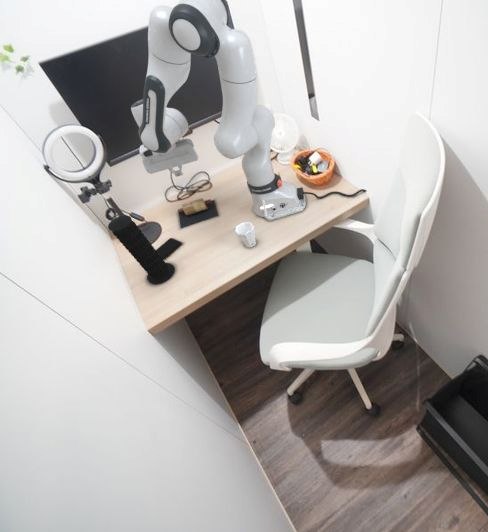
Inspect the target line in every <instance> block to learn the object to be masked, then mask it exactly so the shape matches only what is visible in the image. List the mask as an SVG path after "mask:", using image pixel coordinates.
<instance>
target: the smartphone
mask: <svg viewBox="0 0 488 532" xmlns="http://www.w3.org/2000/svg"><path fill="white" fill-rule="evenodd" d="M180 246H182V241H180V240H178V239H175V238H174V237H170V238H168V239H167V240H166V241H165V242H164V243H162V244H161V245H160V246H159V247H157V249H155V250H156V251H157V253H158V254H159V255H160V256H161V258H162V259H163V260H165V259H167V258H168V257H169V256H170V255H171V254H173V253H174V252H175V251H176V250H177V249H178V248H180Z"/></svg>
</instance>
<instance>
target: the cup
mask: <svg viewBox="0 0 488 532" xmlns="http://www.w3.org/2000/svg"><path fill="white" fill-rule="evenodd" d="M232 229H233V232H234V234H235V235H236V237H238V238H239V239H240V240H241V241H242V243H243V244H244V245H245V247H246V248H252V247H255V246H256V245H257V240H256V237H257V236H256V231H255V227H254V224H252V223H251V222H250V221H243V222H241V223H240V224H238V225H234V226H233V228H232Z"/></svg>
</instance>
